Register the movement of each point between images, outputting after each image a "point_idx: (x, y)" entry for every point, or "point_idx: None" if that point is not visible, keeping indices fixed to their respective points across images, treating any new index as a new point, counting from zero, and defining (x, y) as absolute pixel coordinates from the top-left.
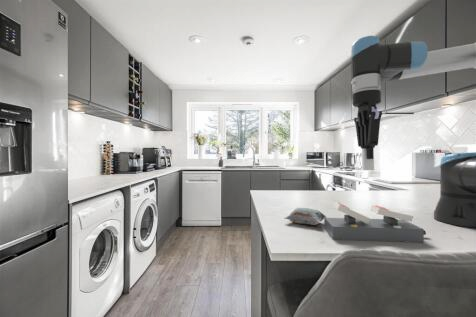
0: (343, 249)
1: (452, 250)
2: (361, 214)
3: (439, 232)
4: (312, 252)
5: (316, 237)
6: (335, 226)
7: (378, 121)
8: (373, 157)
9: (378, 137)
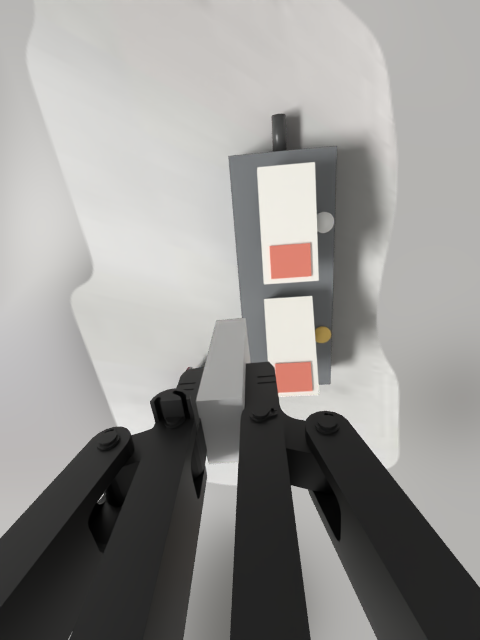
0: (382, 359)
1: (382, 101)
2: (307, 322)
3: (220, 28)
4: (397, 413)
5: (314, 396)
6: (329, 377)
7: None
8: (244, 356)
9: (389, 475)
